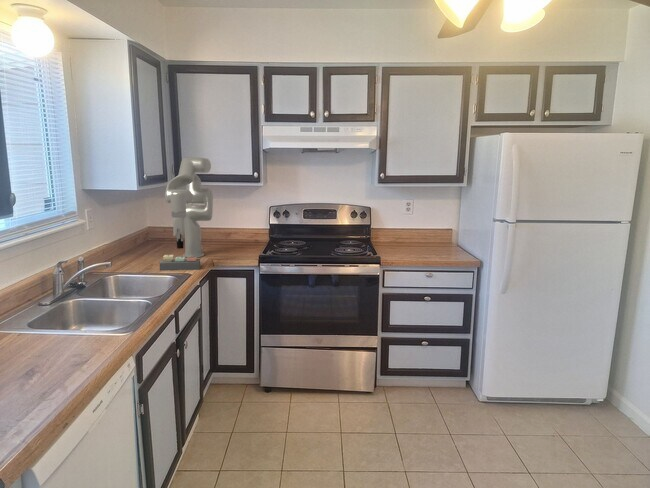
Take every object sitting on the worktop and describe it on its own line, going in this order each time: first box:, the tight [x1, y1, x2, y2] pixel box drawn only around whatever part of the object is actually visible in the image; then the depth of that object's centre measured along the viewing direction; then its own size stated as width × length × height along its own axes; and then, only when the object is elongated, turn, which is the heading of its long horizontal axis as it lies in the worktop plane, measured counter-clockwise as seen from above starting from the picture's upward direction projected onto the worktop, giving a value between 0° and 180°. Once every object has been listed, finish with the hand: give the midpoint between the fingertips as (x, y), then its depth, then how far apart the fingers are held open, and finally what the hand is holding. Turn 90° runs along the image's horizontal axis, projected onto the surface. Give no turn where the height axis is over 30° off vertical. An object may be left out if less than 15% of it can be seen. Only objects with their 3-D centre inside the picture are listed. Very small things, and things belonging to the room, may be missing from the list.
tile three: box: [186, 256, 198, 262], centre depth 231 cm, size 5×5×5 cm
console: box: [159, 258, 201, 272], centre depth 230 cm, size 20×9×4 cm, turn 103°
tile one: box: [162, 254, 175, 262], centre depth 229 cm, size 5×5×5 cm
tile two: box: [174, 256, 186, 262], centre depth 230 cm, size 5×5×5 cm
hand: (180, 248), depth 230 cm, fingers closed
